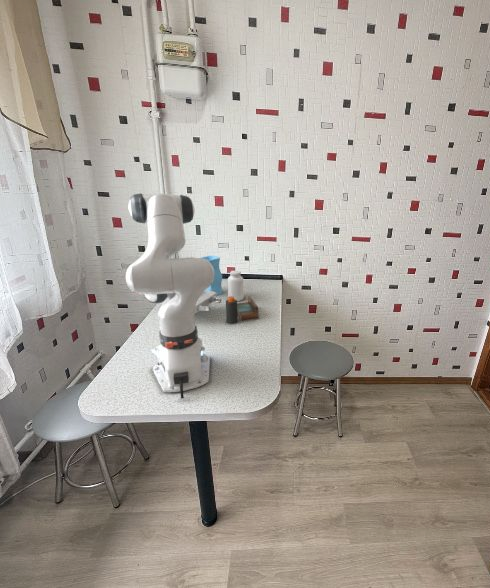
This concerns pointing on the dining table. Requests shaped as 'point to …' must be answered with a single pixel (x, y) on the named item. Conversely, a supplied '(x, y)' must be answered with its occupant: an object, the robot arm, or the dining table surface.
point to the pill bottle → (235, 285)
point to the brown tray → (247, 310)
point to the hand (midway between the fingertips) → (215, 304)
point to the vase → (215, 274)
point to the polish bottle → (231, 310)
